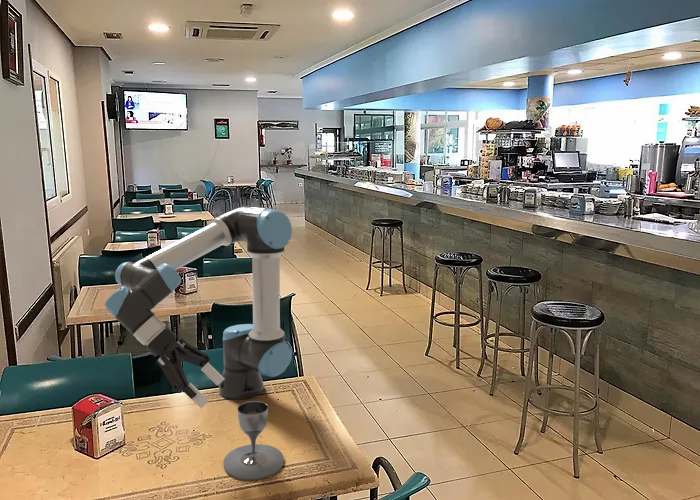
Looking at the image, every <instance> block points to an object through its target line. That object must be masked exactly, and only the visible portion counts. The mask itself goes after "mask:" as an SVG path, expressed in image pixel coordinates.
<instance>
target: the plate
mask: <svg viewBox="0 0 700 500" xmlns="http://www.w3.org/2000/svg"><path fill="white" fill-rule="evenodd" d="M250 452H252V444H247V445H243V446H239V447H237V448H234V449H233V450H231V451H230V452H228V453H227V454H226V455H225V456H224V458H223V470H224V471H225V473H226V474H227V475H228V476H230V477H232V478H234V479H237V480H242V481H256V480H257V481H258V480H263V479H266V478H270V477H271V476H274V475H275V474H277V473H278V472H279V471H280V470H281V469H282V468H283V466H284V460H285V458H284V454H283V453H282V451H281V450H280V449H279V448H277V447H275V446H271V445H269V444H261V443H260V444H259V443H255V452H261V453H263V454H265V455H266V456H267V460H266V462H265V463H263V464H261V465H259V466H246V465H243V464H242V463H241V461H240V459H241V457H242V456H243V455H245V454H247V453H250Z"/></svg>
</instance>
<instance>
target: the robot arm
mask: <svg viewBox="0 0 700 500" xmlns="http://www.w3.org/2000/svg"><path fill="white" fill-rule="evenodd" d="M292 234H293V227H292V222H291V220H290V218H289V217H288V216H287V215H286V214H285V213H284V212H283V211H281V210H276V209H274V208H268V207H261V206H255V205H254V206H253V205H245V206H244V205H243V206H239V207H237V208H234V209H232V210H230V211H227V212H225V213H222V214H220V215H219V216H217V217H215V218H213V219H212V220H211V223H210V224H208V225H206V226H204V227H202V228H200V229H198V230H196V231H194V232H193V233H190V234H188V235H187V236H184V237H182V238H181V239H179V240H176V241H174V242H173V243H171V244H169V245H167V246H165V247H162V248H160V249H159V250H158V251H155V252H153V253H152V254H149V255H148V256H145V257H143V258H141V259H139V260H137V261H136V262H133V261H125V262H123V263H121V264H120V265H119V266H117V268H116V270H115V273H114V278H115V282H116V283H117V285H119V286H120V288H118V289H117V290H115V291H114V292H113V293H112V294H111V295H110V296H109V297H107V299H106V300H105V302H104V307H105V308H106V310H107V311H108V313H110V314H111V316H112V317H113V318H114V319H116V320H117V321H118V323H120V324H121V325H122V326H123V327H124V328H125V329H126V330H127V331H128V332H129V333H130V334H131V335H133V336H134V337H135V339H136V340H137V341H138V342H139V343H140V344H142V345H143V346H146V350H147V351H148V352H149V353H150V354H151V355H152V356H153V357H158V356H160V357H159V358H158V359H157V360H156V361H155V363H156V364H157V365H158V367H159V368H161V370H162V372H163V374H164V376H165V378H166V379H167V381H168V382H169V384H170V386H171V387H172V390H173V391H174V392H175V393H178V394H181V392H183V393H184V394H185V395H186V396H188V397H189V399H191V401H193V402H194V403H195V404H196V405H197V406H198V407H199V408H200V409H202V408H203V407H204V406H206V404H208V403H209V401H210V400H209V399H208V397H206V396H205V395H204V394H203V393H202V392H201V391H200V390H199V389H198V388H197V387H196V386H195V385H194V384H193V383H192V382H188V379H187V377H186V374H185V372H184V369H183V366H182V363H183V362H187V363H189V364H192V365H194V366H196V367H200V368H201V369H200V371H202V372H203V374H205V376H207V377H208V378H209V379H210V380H211V381H212V382H213V383H214V385H216V386H218V391H219V394H220V395H221V397H224V398H227V399H231V400H246V399H252V398H255V397H257V396H259V395H261V394H262V393H263V391H264V381H263V378H262V376H267V377H270V378H271V377H277V376H279V375H281V374H283V373H284V372H285V371H286V369H287V367H289V366H290V363H291V360H292V357H293V356H292V355H293V351H292V348H291V346H290V345H289V344H288V343H286V341H285V338H286V337H285V331H284V330H283V329H282V328H281V318H280V317H281V315H280V314H281V313H280V312H281V307H280V306H281V304H280V303H281V300H280V298H281V294H280V293H281V292H280V291H281V290H280V289H281V288H280V287H281V285H280V284H281V283H280V279H281V277H280V276H281V274H280V273H281V272H280V267H281V266H280V264H281V263H280V261H281V260H280V259H281V258H280V257H281V256H282V254H283V253H284V252H285V247H286V246H287V245H288V244H289V243H290V242H289V240H291V238H292V236H293V235H292ZM238 242H239V243H240V242H245V243H246V245H247V246H246V247H247V249H246V250H247V253H248V254H249V255H250V256H251V257H252V259H251V261H252V262H251V265H252V267H251V268H252V269H251V270H252V272H251V273H252V323H245V324H244V323H242V324H235V325H231V326H228V327H227V328H225V329H224V330H223V332H222V333H223V334H222V350H223V351H222V352H223V353H222V354H223V355H222V356H223V372H222V374H221V373H220V372H218V370H217V369H216V368H215V367H214V366H213V365H211V363H210V362H209V361H211V358H210V356H209V355H208V354H206V353H205V352H203V351H201V350H200V349H198V348H197V347H195V346H193V345H192V344H190V343H188V342H187V341H185V339H183V338H179V339H178V341H175V340H176V338H177V335H176V334H175V333H174V332H173V331H172V330H171V329H170V328H169V327H166V323H164V322H163V321H162V320H161V319H160V318H159V317H158V316H157V315H156V314H155V312H154V311H152V310H153V309H155V307H156V306H157V305H159V304H160V303H161V302H162V301H163V300H165V299H166V298H168V296H169V295H170V294H172V293H173V292H174V291H175V289H177V287H179V286H180V285H181V283H182V278H181V276H180V273H178V271H177V270H178V269H180V268H182V267H185V266H186V265H188V264H189V263H192V262H194V261H195V260H197V259H199V258H201V257H202V256H204V255H206V254H209V253H210V252H212V251H213V250H216V249H217V248H220V247H221V246H225V247H228V246H230V245H232V244H234V243H238Z"/></svg>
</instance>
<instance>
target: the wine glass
mask: <svg viewBox="0 0 700 500" xmlns="http://www.w3.org/2000/svg"><path fill="white" fill-rule="evenodd" d="M268 415H269V405H268V404H267V403H265V402H263V401H262V400H261V401H260V400H249V401H245V402H242V403H241V404H239V405H238V406H237V418H238V425H239V427H240V429H241V431H242V433H244V434H245V435H247V437H248V438H249V439H250V443H251V444H250V445H252V452H250V453H247V454H245V455H243V456H242V457H241V459H240V461H241V463H242V464H243V465H246V466H259V465H261V464H263V463H265V462H266V460H267V456H266V455H265V454H263V453H261V452H255V444H257V443H256V442H257V438H258V437H259V436H260V435H261V433H263V431H264V430H265V428H266V426H267V423H268Z"/></svg>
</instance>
